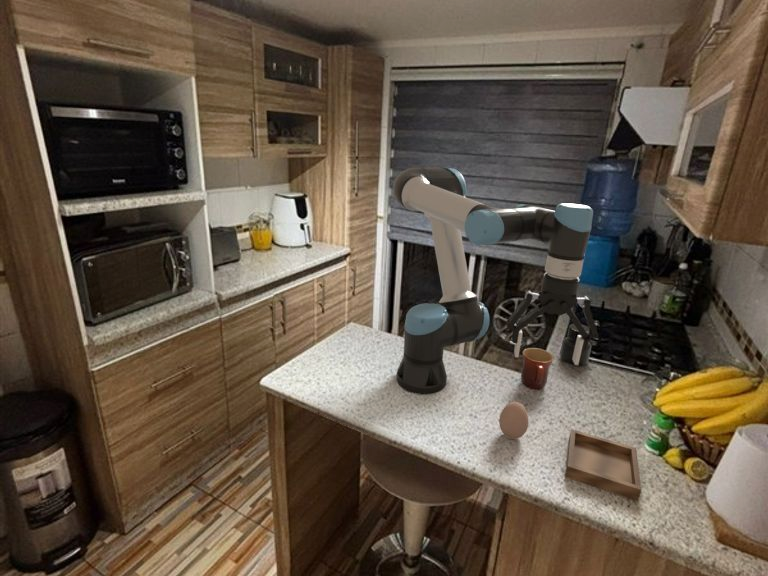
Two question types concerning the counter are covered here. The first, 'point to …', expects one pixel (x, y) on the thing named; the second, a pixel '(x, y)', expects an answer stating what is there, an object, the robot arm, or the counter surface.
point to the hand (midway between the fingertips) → (545, 358)
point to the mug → (535, 368)
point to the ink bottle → (570, 343)
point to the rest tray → (603, 464)
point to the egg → (513, 420)
